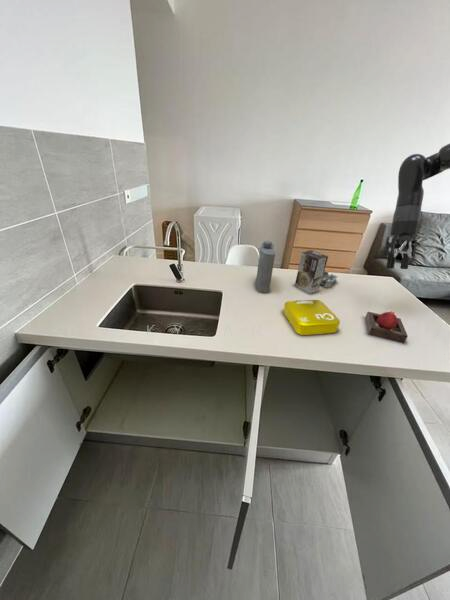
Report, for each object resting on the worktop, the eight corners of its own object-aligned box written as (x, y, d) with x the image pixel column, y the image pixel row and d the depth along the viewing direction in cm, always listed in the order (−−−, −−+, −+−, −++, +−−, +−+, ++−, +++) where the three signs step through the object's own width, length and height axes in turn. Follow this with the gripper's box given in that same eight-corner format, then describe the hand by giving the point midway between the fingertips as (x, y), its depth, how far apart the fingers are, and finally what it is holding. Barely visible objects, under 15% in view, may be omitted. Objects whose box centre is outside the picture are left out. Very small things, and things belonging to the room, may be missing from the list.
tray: (397, 325, 88) (400, 318, 86) (403, 343, 79) (407, 336, 78) (365, 317, 91) (367, 311, 89) (368, 334, 82) (371, 327, 81)
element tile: (317, 308, 95) (320, 298, 92) (339, 332, 82) (343, 321, 80) (281, 310, 92) (283, 300, 90) (297, 336, 80) (301, 324, 77)
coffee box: (319, 290, 108) (329, 256, 99) (309, 294, 104) (319, 259, 96) (303, 282, 114) (311, 249, 106) (293, 285, 111) (301, 251, 102)
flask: (255, 277, 116) (261, 235, 106) (268, 278, 116) (274, 237, 105) (255, 292, 104) (261, 247, 93) (269, 293, 103) (276, 248, 93)
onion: (375, 332, 84) (384, 313, 79) (372, 323, 88) (381, 304, 84) (394, 336, 82) (404, 317, 78) (390, 327, 87) (400, 308, 83)
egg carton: (322, 276, 121) (324, 269, 118) (337, 281, 116) (339, 274, 114) (313, 283, 114) (315, 275, 111) (328, 289, 109) (331, 280, 107)
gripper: (406, 217, 76) (396, 269, 79) (429, 222, 82) (420, 270, 85) (381, 219, 83) (374, 267, 86) (405, 224, 89) (397, 268, 92)
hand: (397, 268), depth 86 cm, fingers open, 8 cm apart
